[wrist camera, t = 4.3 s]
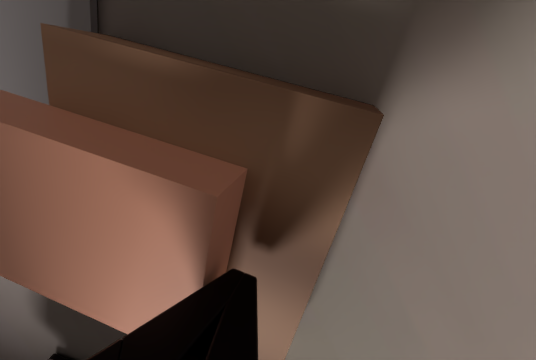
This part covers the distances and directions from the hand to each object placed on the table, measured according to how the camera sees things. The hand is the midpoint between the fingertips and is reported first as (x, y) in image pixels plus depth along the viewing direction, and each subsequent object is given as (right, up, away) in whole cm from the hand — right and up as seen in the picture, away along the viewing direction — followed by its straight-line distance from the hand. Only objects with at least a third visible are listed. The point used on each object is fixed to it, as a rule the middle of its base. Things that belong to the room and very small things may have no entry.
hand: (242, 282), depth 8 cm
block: (-5, +2, +2) cm, 5 cm away
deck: (-2, +2, +4) cm, 5 cm away
